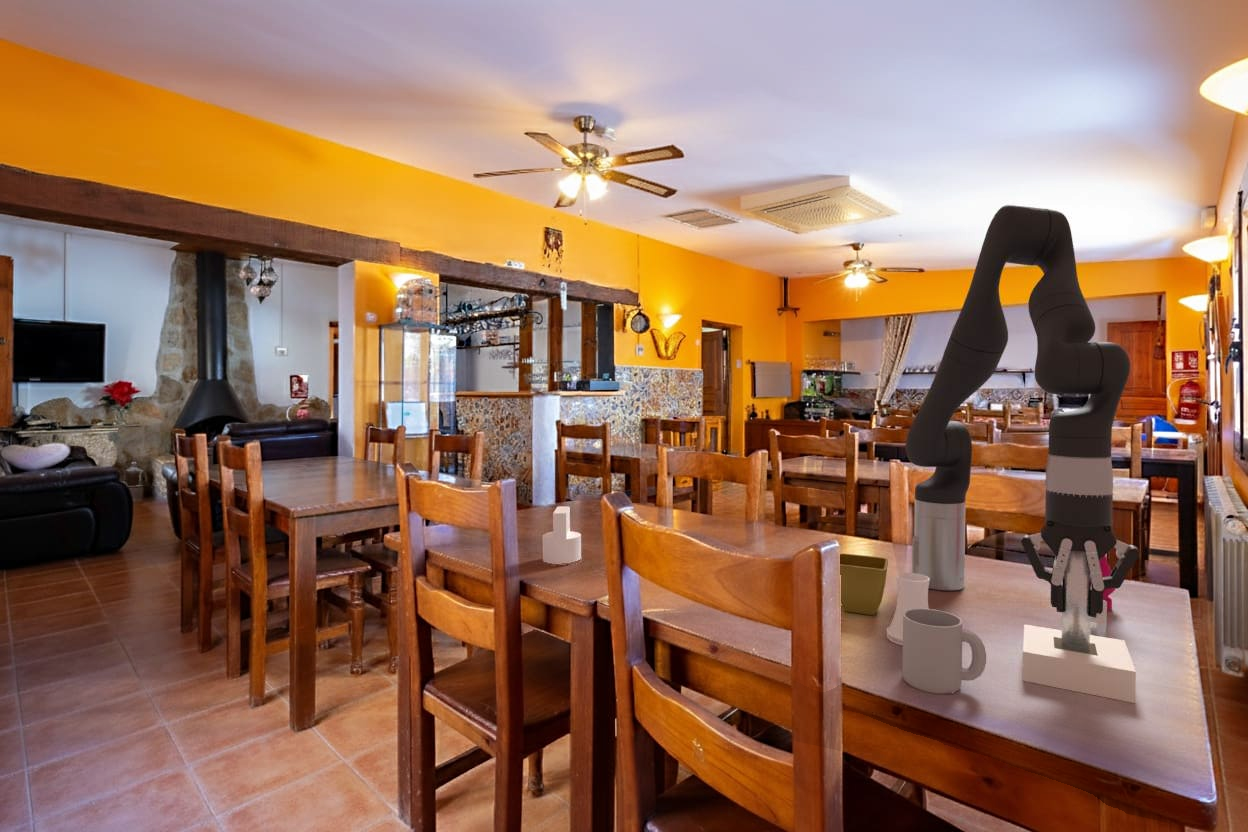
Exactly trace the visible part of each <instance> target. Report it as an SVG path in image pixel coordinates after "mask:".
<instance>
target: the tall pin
mask: <svg viewBox="0 0 1248 832" xmlns="http://www.w3.org/2000/svg"><path fill="white" fill-rule="evenodd" d="M1062 585H1063V613H1062V612H1061V630H1062V634H1061V648H1062V649H1064V650H1068V651H1074V652H1079V653H1085V654H1088V653H1090V589H1091V574H1090V569H1089V564H1088V560H1087V555H1086V551H1076V550H1071V551H1070V554H1069V558H1068V562H1067V566H1066V569H1065V572H1064V576H1063V579H1062Z"/></svg>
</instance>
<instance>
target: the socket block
mask: <svg viewBox="0 0 1248 832" xmlns="http://www.w3.org/2000/svg"><path fill="white" fill-rule="evenodd" d="M1061 634H1062V629H1055V628H1049V627H1042V626H1037V625H1030V624H1023V649H1022V682H1027V683H1032V684H1038V685H1042V686H1048V687H1052V688H1058V689H1063V690H1067V691H1071V692H1072V691H1073V692H1076V693H1081V694H1082V693H1083V694H1085V695H1087V694H1088V695H1092V696H1096V697H1097V696H1098V697H1102V698H1107V699H1112V700H1118V701H1122V702H1126V703H1132V704H1136V683H1137V682H1136V677H1137V674H1136V673H1137V672H1136V669H1135V666H1134V663H1133V660H1132V658H1131V655H1130V652H1129V649H1128V647H1127V644H1126V641H1125V639H1118V638H1110V637H1107V636H1106V637H1100V636H1093V635H1090V653H1088V654H1085V653H1079V652H1074V651H1068V650H1064V649H1062V648H1061Z"/></svg>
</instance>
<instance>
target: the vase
mask: <svg viewBox="0 0 1248 832" xmlns="http://www.w3.org/2000/svg"><path fill="white" fill-rule="evenodd" d="M895 576H896V585H897V596H896V597H897V600H896V604H895V605H896V607H895V611H894V615H893V618H892V621H891V623H890V625H889V626H887V627H886V638H887V640H889V641H890V642H892V643H894V644H896V645H900V646H903V613H904V612H905V611H907V610H910V609H919V608H920V609H930V608H929V588H928V587H929V580H930V578H929V577H927V576H925V575H921V574H915V573H912V572H900V573H897V574H896V575H895Z"/></svg>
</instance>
